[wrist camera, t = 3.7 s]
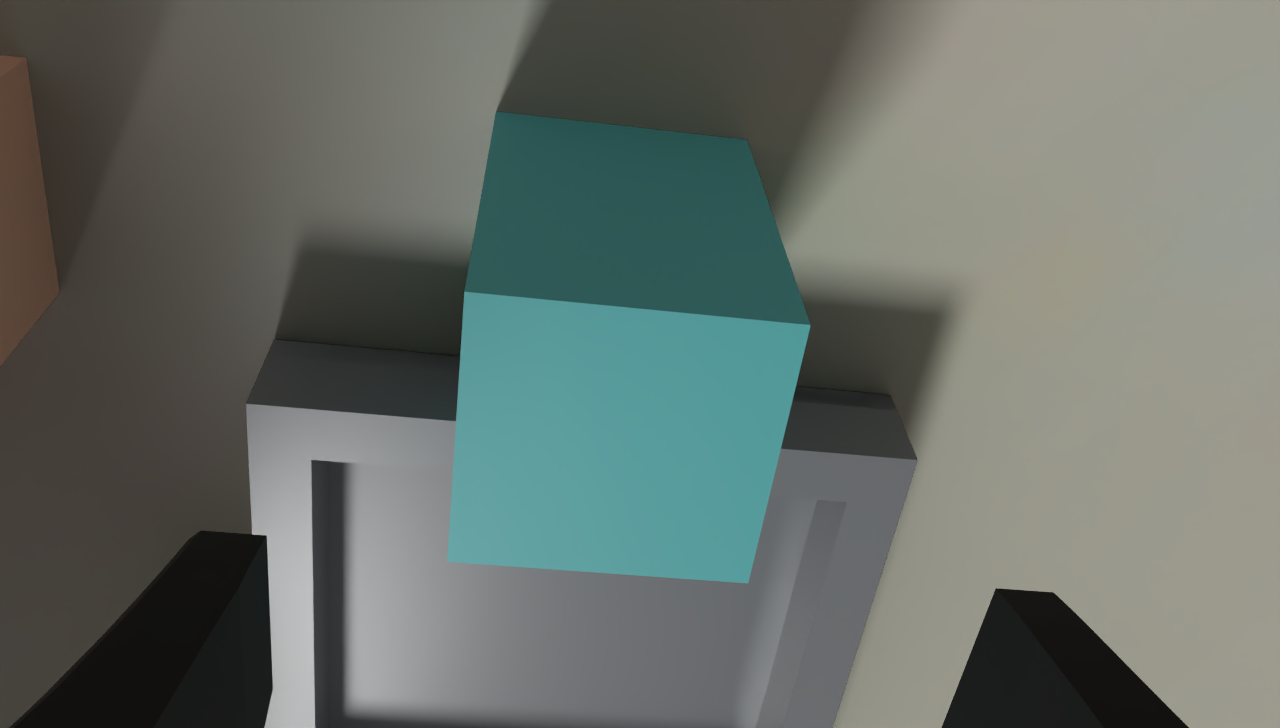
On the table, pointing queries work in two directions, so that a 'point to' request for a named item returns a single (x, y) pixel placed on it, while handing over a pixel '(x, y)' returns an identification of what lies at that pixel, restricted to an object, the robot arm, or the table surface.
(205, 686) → the robot arm
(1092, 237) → the table surface
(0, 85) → the terracotta block
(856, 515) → the charcoal tray
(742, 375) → the teal block
